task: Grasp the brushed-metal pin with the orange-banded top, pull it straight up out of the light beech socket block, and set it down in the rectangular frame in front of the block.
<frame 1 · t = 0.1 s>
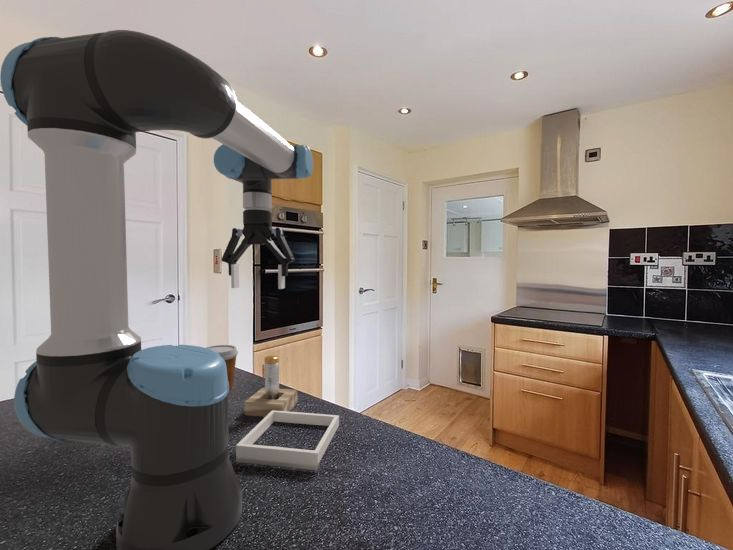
hand: (258, 288, 98), 28 cm above the countertop, fingers open, 13 cm apart
socket block: (272, 412, 84), on the countertop
pin: (272, 408, 84), point 1 cm above the countertop, touching socket block
rectangular frame: (292, 444, 69), on the countertop
disposable coffee cup: (219, 393, 96), on the countertop
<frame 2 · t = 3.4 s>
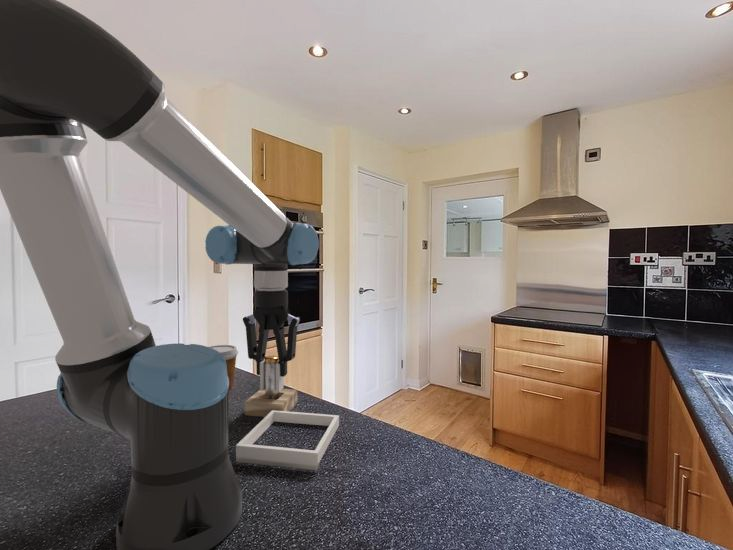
hand: (272, 388, 84), 6 cm above the countertop, fingers closed on pin, 3 cm apart
pin: (272, 408, 84), point 1 cm above the countertop, touching gripper, socket block
everything else where it was.
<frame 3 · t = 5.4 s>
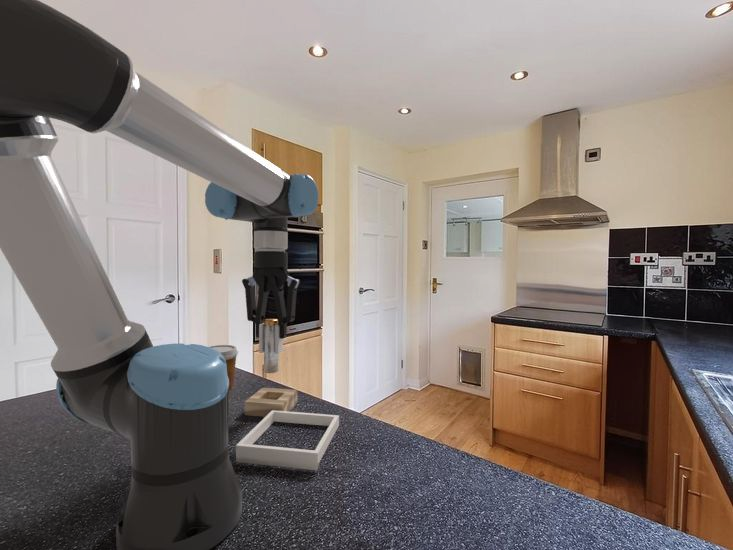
hand: (271, 351, 83), 14 cm above the countertop, fingers closed on pin, 3 cm apart
pin: (271, 371, 83), point 10 cm above the countertop, touching gripper
everything else where it was.
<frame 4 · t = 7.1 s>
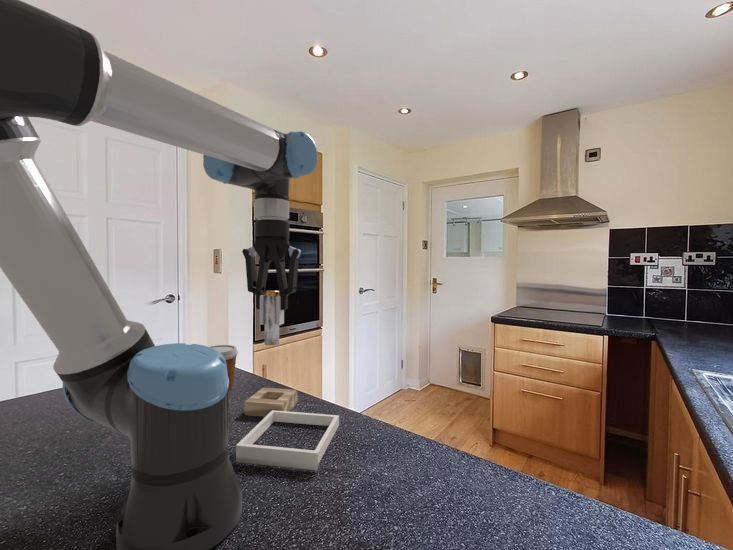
hand: (272, 323, 81), 21 cm above the countertop, fingers closed on pin, 3 cm apart
pin: (271, 343, 81), point 17 cm above the countertop, touching gripper
everything else where it was.
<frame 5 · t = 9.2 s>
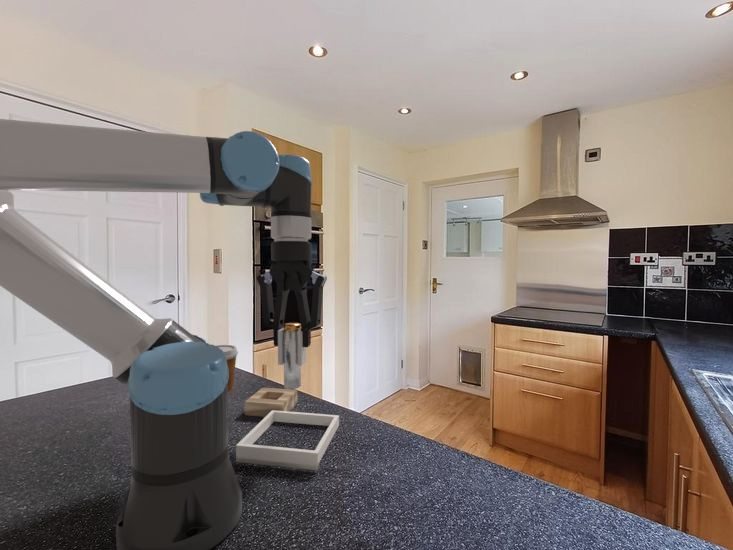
hand: (292, 362, 69), 16 cm above the countertop, fingers closed on pin, 3 cm apart
pin: (292, 386, 69), point 11 cm above the countertop, touching gripper
everything else where it was.
when the fingers open (7 cm above the countertop, at t = 11.0 s): pin drops 1 cm, resting on rectangular frame.
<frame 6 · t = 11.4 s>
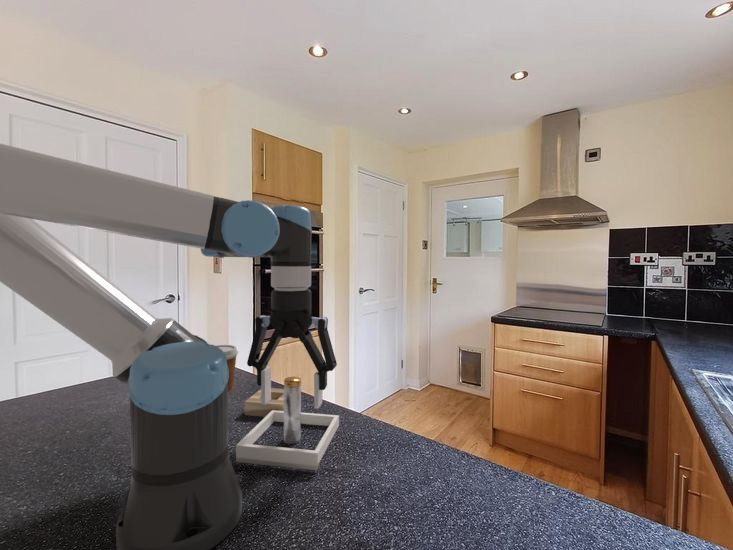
hand: (292, 403, 69), 8 cm above the countertop, fingers open, 10 cm apart
pin: (292, 439, 69), point 1 cm above the countertop, touching rectangular frame
everything else where it was.
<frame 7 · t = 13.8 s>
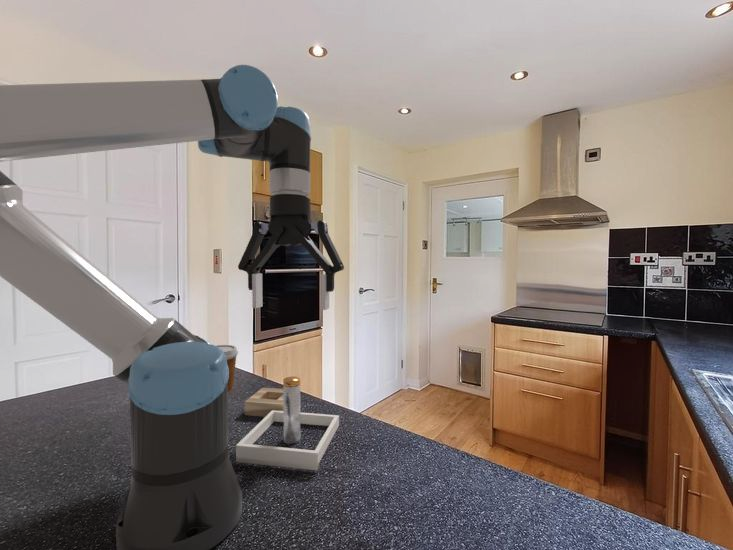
hand: (290, 308, 68), 27 cm above the countertop, fingers open, 13 cm apart
nothing on the countertop moved.
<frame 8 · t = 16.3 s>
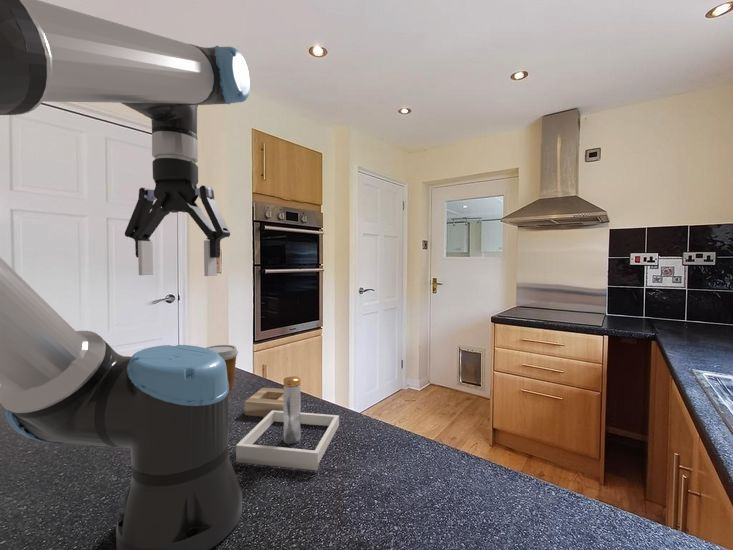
hand: (177, 275, 67), 33 cm above the countertop, fingers open, 13 cm apart
nothing on the countertop moved.
at the end: pin inside the target area on the rectangular frame (0.0 cm from its centre), point 0.8 cm above the rectangular frame's base; the gripper is holding nothing; pin touching rectangular frame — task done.
